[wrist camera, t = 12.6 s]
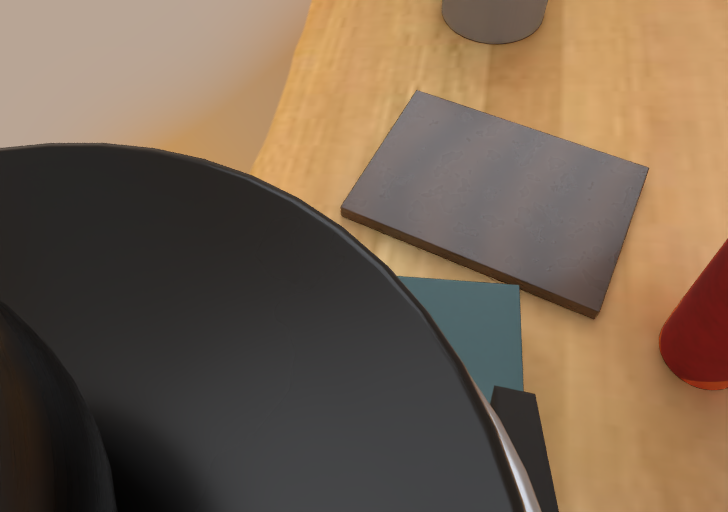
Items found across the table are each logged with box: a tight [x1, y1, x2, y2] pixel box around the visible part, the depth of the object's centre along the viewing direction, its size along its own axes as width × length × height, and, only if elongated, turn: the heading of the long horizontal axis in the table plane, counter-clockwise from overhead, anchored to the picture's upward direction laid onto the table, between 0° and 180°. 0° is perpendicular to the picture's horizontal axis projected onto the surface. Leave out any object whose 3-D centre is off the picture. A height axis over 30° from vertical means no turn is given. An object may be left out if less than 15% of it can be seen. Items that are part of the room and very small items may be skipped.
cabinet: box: [397, 276, 524, 404], centre depth 33 cm, size 17×14×9 cm
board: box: [341, 90, 649, 319], centre depth 47 cm, size 20×14×1 cm
